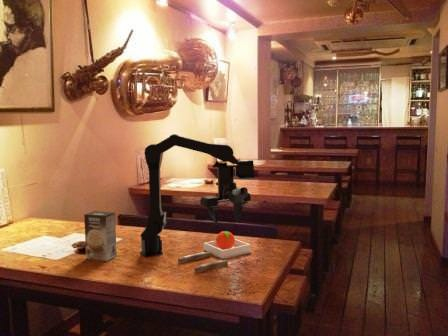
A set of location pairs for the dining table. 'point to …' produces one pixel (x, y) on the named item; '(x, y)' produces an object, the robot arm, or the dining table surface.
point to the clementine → (225, 240)
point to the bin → (236, 250)
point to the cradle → (204, 266)
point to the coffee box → (100, 235)
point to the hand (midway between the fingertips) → (226, 222)
